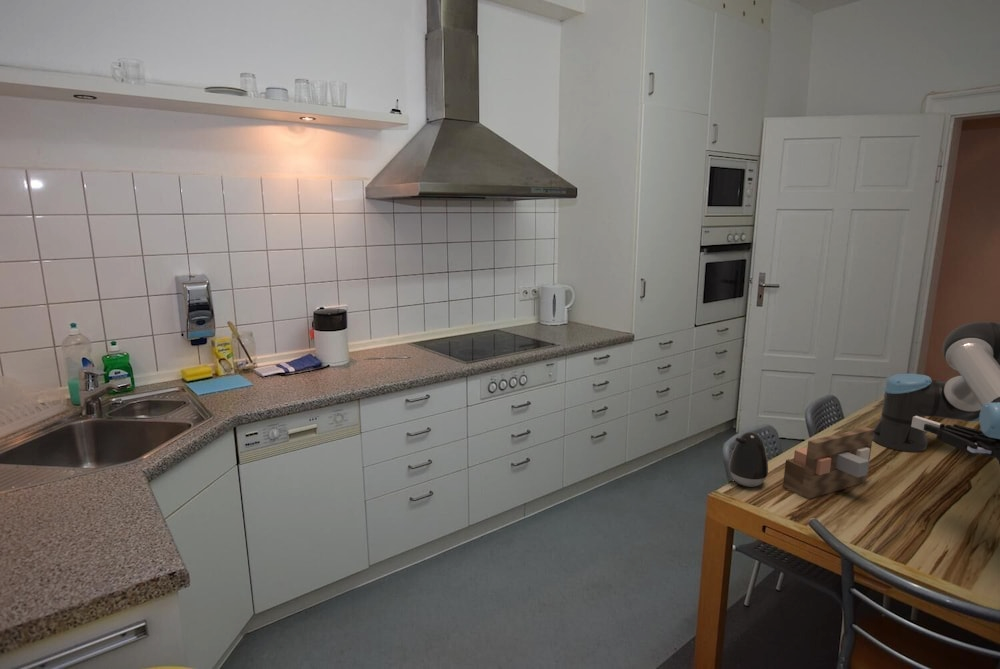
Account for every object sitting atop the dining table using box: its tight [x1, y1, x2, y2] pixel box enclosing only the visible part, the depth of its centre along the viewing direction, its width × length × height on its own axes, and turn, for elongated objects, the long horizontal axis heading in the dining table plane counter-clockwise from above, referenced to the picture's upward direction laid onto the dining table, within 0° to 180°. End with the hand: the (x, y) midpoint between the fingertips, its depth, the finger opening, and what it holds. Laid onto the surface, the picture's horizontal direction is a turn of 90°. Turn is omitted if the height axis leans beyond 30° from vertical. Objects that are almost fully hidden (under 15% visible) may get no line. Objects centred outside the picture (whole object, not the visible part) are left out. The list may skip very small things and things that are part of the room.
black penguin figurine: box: [728, 431, 769, 488], centre depth 160 cm, size 10×10×15 cm
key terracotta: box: [793, 447, 831, 475], centre depth 155 cm, size 4×8×4 cm, turn 24°
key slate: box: [835, 451, 870, 478], centre depth 154 cm, size 4×8×4 cm, turn 24°
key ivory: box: [856, 447, 871, 461], centre depth 161 cm, size 4×8×4 cm, turn 24°
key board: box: [782, 426, 875, 500], centre depth 159 cm, size 24×8×16 cm, turn 114°
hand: (913, 421), depth 144 cm, fingers closed
